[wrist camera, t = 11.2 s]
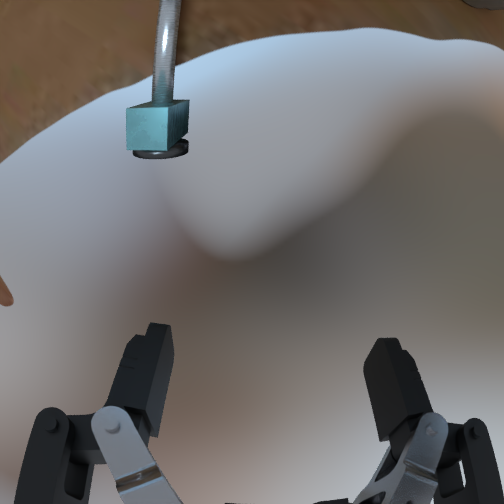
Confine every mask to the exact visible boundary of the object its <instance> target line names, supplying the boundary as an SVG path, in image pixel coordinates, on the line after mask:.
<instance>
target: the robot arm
mask: <svg viewBox="0 0 504 504" xmlns="http://www.w3.org/2000/svg"><path fill="white" fill-rule="evenodd" d="M463 1H464V2H466V3H467V4H469V5H470V6H473V7H475V8H488V9H489V10H501V9H504V0H463ZM173 362H174V346H173V339H172V332H171V326H170V325H166V324H158V323H150V324H149V327H148V329H147V332H146V335H145V336H142V335H137V334H136V335H135V336H134V337H133V338H132V339H131V340H130V341H129V342H128V343H127V345H126V348H125V351H124V354H123V358H122V359H121V362H120V364H119V367H118V370H117V373H116V376H115V378H114V381H113V384H112V387H111V390H110V393H109V396H108V399H107V402H106V403H105V405H104V406H103V407H102V408H101V409H99V410H98V411H97V412H95V413H93V414H89V415H66V414H65V413H64V412H63V411H61V410H60V409H58V408H54V407H50V408H45V409H43V410H42V411H41V412H39V414H38V415H37V416H36V419H35V422H34V425H33V428H32V431H31V434H30V438H29V441H28V445H27V448H26V452H25V456H24V460H23V463H22V468H21V471H20V477H19V480H18V485H17V490H16V495H15V500H14V504H88V501H89V495H90V488H91V482H92V476H93V470H94V464H107V465H108V467H109V469H110V471H111V473H112V475H113V477H114V479H115V481H116V488H117V491H118V493H119V495H120V497H121V499H122V501H123V502H124V504H183V502H182V501H181V500H180V498H179V497H178V495H177V494H176V492H175V491H174V489H173V488H172V487H171V485H170V484H169V482H168V481H167V479H166V477H165V476H164V475H163V473H162V471H161V470H160V468H159V466H158V465H157V463H156V461H155V460H154V458H153V456H152V455H151V453H150V451H149V449H148V448H147V447H148V442H149V437H150V436H152V437H158V433H159V428H160V423H161V418H162V413H163V408H164V404H165V399H166V394H167V390H168V385H169V381H170V376H171V372H172V367H173ZM363 369H364V370H363V372H364V377H365V381H366V385H367V389H368V393H369V397H370V401H371V405H372V409H373V414H374V418H375V422H376V426H377V431H378V436H379V441H380V442H382V441H388V440H389V441H390V446H389V447H388V449H387V450H386V453H385V455H384V457H383V458H382V461H381V462H380V464H379V466H378V468H377V470H376V472H375V473H374V475H373V477H372V479H371V480H370V482H369V484H368V485H367V486H366V487H365V488H364V489H363V490H362V491H361V492H360V494H359V495H358V496H357V498H356V499H355V501H354V502H353V503H348V498H345V499H337V500H330V501H321V502H317V503H314V504H430V502H431V500H432V498H433V499H434V504H504V496H503V490H502V485H501V480H500V475H499V471H498V467H497V462H496V459H495V454H494V451H493V447H492V444H491V440H490V436H489V433H488V430H487V427H486V425H485V424H484V422H483V421H481V420H480V419H477V418H472V419H469V420H468V421H467V422H466V423H464V424H454V423H447V422H446V420H445V419H444V418H443V417H442V416H441V415H440V414H438V413H434V412H433V409H432V407H431V404H430V401H429V398H428V395H427V392H426V390H425V387H424V384H423V382H422V380H421V376H420V374H419V372H418V368H417V366H416V363H415V361H414V359H413V358H412V356H411V355H410V354H409V353H408V352H407V350H402V348H401V345H400V343H399V340H398V339H397V338H378V339H377V341H376V342H375V344H374V346H373V348H372V349H371V351H370V353H369V355H368V357H367V358H366V360H365V362H364V368H363ZM461 460H462V464H463V469H464V474H465V479H466V485H465V487H464V485H463V481H462V475H461V470H460V465H459V461H461ZM225 504H234V503H225Z"/></svg>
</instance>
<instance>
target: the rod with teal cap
mask: <svg viewBox="0 0 504 504" xmlns="http://www.w3.org/2000/svg"><path fill="white" fill-rule="evenodd" d="M181 1H182V0H160V3H159V11H158V20H157V29H156V39H155V51H154V65H153V82H152V101H151V102H147V103H143V104H140V105H137V106H133V107H130V108H127V109H126V138H127V139H126V141H127V150H133V155H134V156H135V157H138V158H143V159H166V158H174V157H178V156H182V155H185V154H186V153H188V145H189V144H188V143H189V142H188V140H186V139H182V137H183V136H184V135H185V134H187V133H188V119H189V100H173V88H174V72H175V59H176V47H177V36H178V26H179V17H180V9H181Z"/></svg>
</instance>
